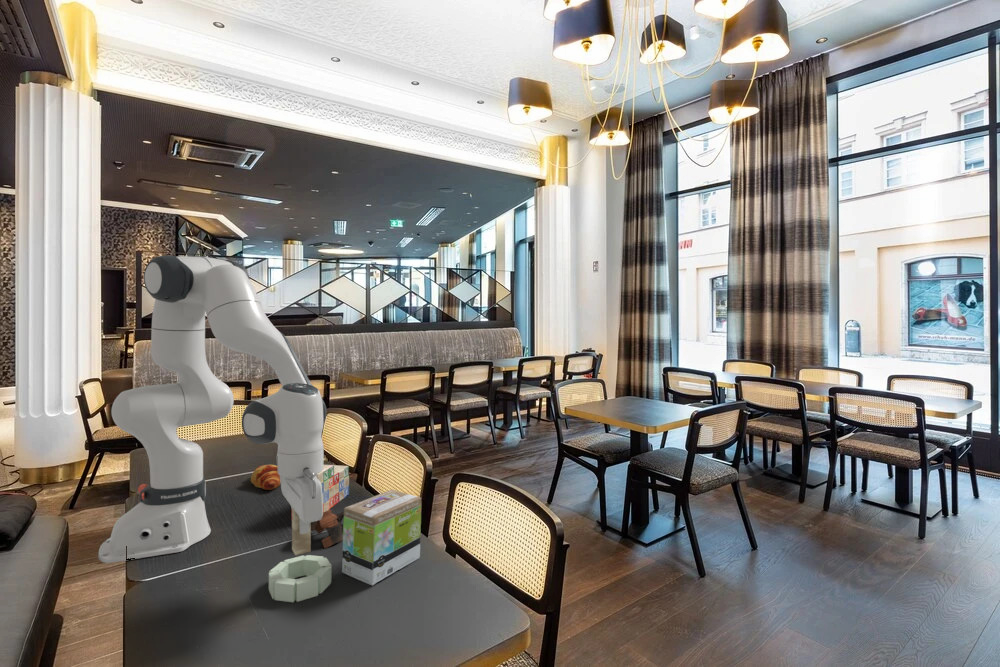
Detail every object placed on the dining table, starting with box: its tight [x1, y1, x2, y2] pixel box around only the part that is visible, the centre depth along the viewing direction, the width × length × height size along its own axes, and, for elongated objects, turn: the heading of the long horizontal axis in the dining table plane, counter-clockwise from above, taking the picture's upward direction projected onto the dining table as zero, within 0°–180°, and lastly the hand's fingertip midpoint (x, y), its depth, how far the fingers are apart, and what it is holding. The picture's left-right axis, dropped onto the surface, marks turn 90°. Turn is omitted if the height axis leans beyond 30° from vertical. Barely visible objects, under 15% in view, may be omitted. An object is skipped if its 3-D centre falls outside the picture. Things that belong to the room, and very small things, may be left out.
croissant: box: [250, 464, 281, 491], centre depth 163 cm, size 21×10×8 cm, turn 35°
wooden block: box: [291, 508, 312, 556], centre depth 101 cm, size 3×3×10 cm
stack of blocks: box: [290, 464, 350, 521], centre depth 143 cm, size 21×6×12 cm, turn 170°
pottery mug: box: [311, 509, 344, 549], centre depth 123 cm, size 12×10×8 cm
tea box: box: [341, 489, 422, 586], centre depth 110 cm, size 15×10×15 cm, turn 148°
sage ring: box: [268, 554, 332, 603], centre depth 101 cm, size 12×12×4 cm
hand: (301, 528), depth 101 cm, fingers closed on wooden block, 3 cm apart
